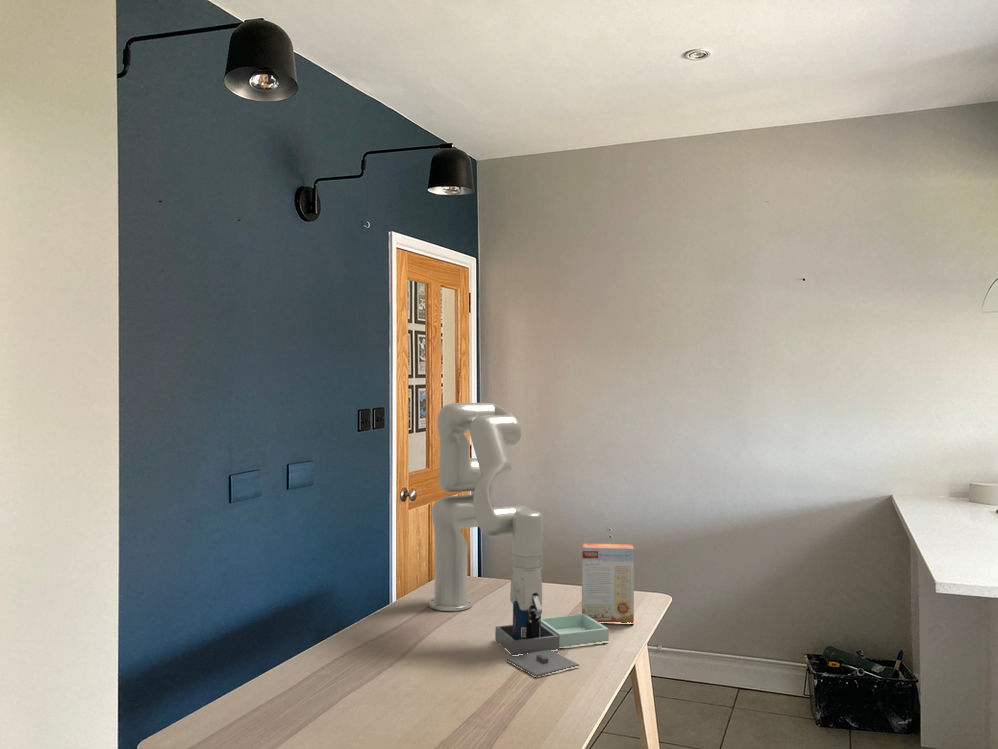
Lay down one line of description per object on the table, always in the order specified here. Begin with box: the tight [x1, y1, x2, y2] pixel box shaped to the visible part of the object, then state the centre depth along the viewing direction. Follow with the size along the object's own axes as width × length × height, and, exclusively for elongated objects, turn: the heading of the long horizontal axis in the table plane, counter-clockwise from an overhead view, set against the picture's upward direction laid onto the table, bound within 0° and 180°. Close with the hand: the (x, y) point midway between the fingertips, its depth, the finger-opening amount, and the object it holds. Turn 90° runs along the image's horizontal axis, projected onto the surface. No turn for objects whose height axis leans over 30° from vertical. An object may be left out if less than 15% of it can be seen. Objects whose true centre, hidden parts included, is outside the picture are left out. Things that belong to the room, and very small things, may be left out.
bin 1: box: [494, 624, 560, 655], centre depth 195 cm, size 12×12×4 cm
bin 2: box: [541, 613, 610, 647], centre depth 202 cm, size 14×14×4 cm
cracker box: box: [581, 542, 635, 623], centre depth 216 cm, size 14×6×21 cm, turn 84°
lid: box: [505, 649, 580, 677], centre depth 183 cm, size 12×12×2 cm
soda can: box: [512, 599, 542, 640], centre depth 195 cm, size 7×7×12 cm
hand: (526, 632), depth 195 cm, fingers closed on soda can, 6 cm apart
